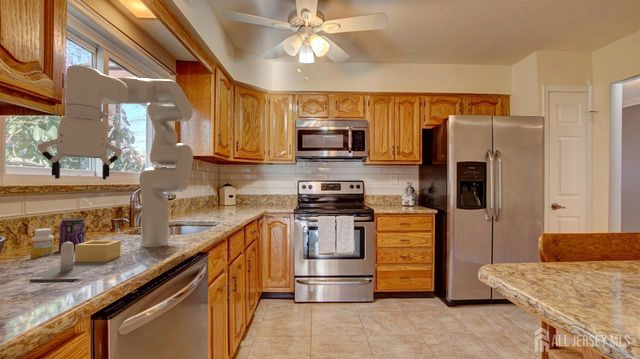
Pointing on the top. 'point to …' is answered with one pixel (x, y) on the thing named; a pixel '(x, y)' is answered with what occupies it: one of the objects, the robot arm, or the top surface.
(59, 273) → the keeper board
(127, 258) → the top surface
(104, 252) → the tan hollow block
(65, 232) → the beverage can
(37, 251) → the supplement bottle
